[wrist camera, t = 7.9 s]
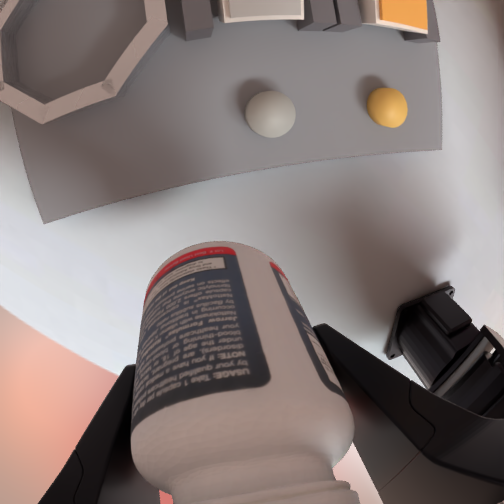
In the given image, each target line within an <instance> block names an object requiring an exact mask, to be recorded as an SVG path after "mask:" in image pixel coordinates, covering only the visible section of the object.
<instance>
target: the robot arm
mask: <svg viewBox="0 0 504 504" xmlns="http://www.w3.org/2000/svg"><path fill="white" fill-rule="evenodd" d="M454 292H455V288H453V287H452V286H449V287H446V288H444V289H441V290H439V291H437V292H434V293H432V294H429V295H427V296H424V297H422V298H419V299H417V300H414V301H411V302H409V303H406V304H403V305H402V306H400V307H399V309H398V311H397V315H396V319H395V324H394V328H393V332H392V336H391V339H390V343H389V347H388V351H387V354H386V356H387V358H388V359H389V360H391V359H394V358H396V357H398V356H401V355H403V356H404V357H405V359H406V360H407V362H408V363H409V364H410V366H411V367H412V369H413V370H414V372H415V373H416V374H417V376H418V377H419V379H420V380H421V382H422V383H423V385H424V386H425V388H426V389H425V388H423V387H422V386H420V385H418V384H417V383H415V382H414V381H412V380H411V381H410V379H409V378H407V377H406V376H404V375H403V374H401V373H400V372H398V371H397V370H395V369H394V368H392V367H391V366H389V365H388V364H386V363H385V362H383V361H381V360H380V359H378V358H377V357H375V356H374V355H372V354H371V353H369V352H368V351H366V350H365V349H363V348H362V347H360V346H359V345H357V344H356V343H354V342H353V341H351V340H350V339H348V338H347V337H345V336H344V335H342V334H341V333H339V332H338V331H336V330H335V329H333V328H332V327H330V326H329V325H327V324H325V323H323V324H319V325H316V326H313V328H312V329H313V331H314V333H315V335H316V337H317V339H318V340H319V342H320V345H321V347H322V348H323V350H324V352H325V355H326V357H327V359H328V361H329V363H330V365H331V367H332V369H333V372H334V374H335V376H336V378H337V380H338V381H339V384H340V386H341V388H342V391H343V393H344V395H345V397H346V399H347V401H348V404H349V407H350V409H351V412H352V415H353V418H354V424H355V432H354V437H353V443H354V445H355V447H356V449H357V451H358V453H359V455H360V457H361V459H362V461H363V463H364V465H365V467H366V469H367V471H368V473H369V475H370V477H371V479H372V481H373V483H374V485H375V487H376V489H377V491H378V494H379V496H380V498H381V500H382V501H383V504H504V339H503V338H502V337H501V336H500V335H499V334H498V333H497V332H495V331H494V330H492V329H491V328H489V327H487V326H486V325H483V327H482V328H481V329H480V331H479V330H478V329H477V328H476V327H475V326H474V325H473V324H472V323H471V322H472V319H471V317H470V316H469V315H468V314H467V313H466V312H465V311H464V310H463V309H462V308H461V307H460V306H459V305H458V304H457V303H456V302H455V301H454V300H453V296H454ZM493 348H495V349H496V350H495V351H494V352H493V354H491V353H490V351H491V350H492V349H493ZM135 370H136V364H132V365H127V366H126V367H125V368H124V369H123V371H122V373H121V374H120V376H119V377H118V379H117V380H116V382H115V384H114V385H113V387H112V388H111V390H110V392H109V393H108V395H107V396H106V398H105V400H104V401H103V403H102V404H101V406H100V407H99V409H98V411H97V412H96V414H95V416H94V417H93V419H92V420H91V422H90V424H89V425H88V427H87V429H86V430H85V432H84V434H83V435H82V437H81V439H80V440H79V442H78V444H77V445H76V448H75V449H76V450H73V452H72V454H71V456H70V457H69V459H68V461H67V462H66V464H65V465H64V467H63V469H62V470H61V472H60V473H59V475H58V476H57V478H56V479H55V480H54V482H53V483H52V485H51V486H50V487H49V489H48V490H47V491H46V493H45V495H44V496H43V497H42V498H41V500H40V501H39V503H38V504H160V497H159V496H160V495H159V489H157V488H156V487H154V486H153V485H151V484H150V483H149V482H147V481H146V480H145V479H144V478H143V476H142V475H141V474H140V473H139V471H138V470H137V468H136V466H135V464H134V461H133V458H132V452H131V420H132V405H133V392H134V380H135Z"/></svg>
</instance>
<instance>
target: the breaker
mask: <svg viewBox="0 0 504 504" xmlns="http://www.w3.org/2000/svg"><path fill="white" fill-rule="evenodd" d="M217 7H218V17H219V21H220V22H223V23H231V22H242V21H255V20H280V19H301V20H304V0H217Z"/></svg>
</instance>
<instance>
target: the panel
mask: <svg viewBox="0 0 504 504" xmlns="http://www.w3.org/2000/svg"><path fill="white" fill-rule="evenodd" d="M7 2H8V0H5V5H6V3H7ZM426 2H427V25H428V34H423V33H416V32H409V31H403V30H398V29H393V28H387V27H381V26H375V25H368V24H362V22H361V16H360V11H359V5H358V0H304V20H301V19H280V20H255V21H242V22H231V23H223V22H220V21H219V17H218V7H217V0H166V5H167V13H168V20H169V27H170V34H169V35H168V37H167V38H166V39H165V40H164V42H163V43H162V44H161V45H160V47H159V48H158V49H157V50H156V52H155V53H154V54H153V56H152V57H151V58H150V60H149V61H148V62H147V64H146V65H145V66H144V68H143V69H142V71H141V72H140V73H139V75H138V76H137V78H136V79H135V81H134V82H133V83H132V85H131V86H130V88H129V89H128V91H127V92H126V94H125V96H124V97H121V98H118V99H115V100H112V101H109V102H105V103H102V104H100V105H97V106H94V107H91V108H88V109H85V110H83V111H80V112H78V113H75V114H72V115H70V116H67V117H65V118H62V119H60V120H58V121H54V122H50V123H46V124H40V123H38V122H37V121H35V120H33V119H31V118H30V117H28V116H26V115H25V114H23V113H21V112H19V111H18V110H16V109H14V108H12V107H11V108H12V114H13V119H14V124H15V129H16V134H17V138H18V142H19V147H20V151H21V155H22V158H23V162H24V166H25V169H26V173H27V176H28V180H29V183H30V186H31V189H32V192H33V195H34V198H35V201H36V204H37V207H38V210H39V213H40V215H41V218H42V221H43V223H44V224H46V223H49V222H52V221H55V220H58V219H62V218H65V217H68V216H71V215H74V214H77V213H81V212H84V211H87V210H90V209H94V208H97V207H101V206H104V205H108V204H111V203H115V202H118V201H122V200H126V199H129V198H133V197H137V196H141V195H145V194H149V193H153V192H157V191H161V190H165V189H169V188H173V187H178V186H182V185H186V184H191V183H196V182H200V181H205V180H210V179H214V178H219V177H224V176H229V175H235V174H240V173H245V172H251V171H256V170H262V169H268V168H274V167H280V166H287V165H293V164H300V163H307V162H314V161H321V160H329V159H337V158H346V157H355V156H364V155H375V154H386V153H398V152H413V151H430V150H442V96H441V80H440V68H439V58H438V50H437V42H440V36H439V30H438V24H437V18H436V13H435V8H434V3H433V0H426ZM146 23H147V20H146V12H145V3H144V0H38V2H37V3H36V5H35V6H34V7H33V9H32V10H31V12H30V13H29V15H28V16H27V18H26V19H25V21H24V23H23V24H22V26H21V27H20V29H19V31H18V32H17V34H16V42H17V57H18V68H19V77H20V82H21V83H23V84H25V85H26V86H28V87H30V88H32V89H34V90H36V91H38V92H39V93H41V94H43V95H45V96H47V97H49V98H50V99H52V100H56V99H58V98H60V97H63V96H65V95H67V94H70V93H72V92H75V91H77V90H80V89H83V88H85V87H88V86H91V85H93V84H96V83H99V82H102V81H104V80H105V79H106V77H107V76H108V74H109V73H110V71H111V70H112V68H113V67H114V65H115V64H116V62H117V61H118V60H119V58H120V57H121V55H122V54H123V53H124V51H125V50H126V48H127V47H128V46H129V44H130V43H131V42H132V40H133V39H134V38H135V36H136V35H137V34H138V33H139V31H140V30H141V29H142V28H143V26H144V25H145V24H146Z"/></svg>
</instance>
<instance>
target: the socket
mask: <svg viewBox="0 0 504 504" xmlns="http://www.w3.org/2000/svg"><path fill="white" fill-rule="evenodd" d="M37 2H38V0H8V2H7V3H6V5H5V6H4V8H3V9H2V11H1V12H0V101H2V102H4V103H5V104H7V105H9V106H11V107H12V108H14V109H16V110H18V111H19V112H21V113H23V114H25V115H26V116H28V117H30V118H31V119H33V120H35V121H37V122H38V123H40V124H46V123H50V122H54V121H58V120H60V119H62V118H65V117H67V116H70V115H72V114H75V113H78V112H80V111H83V110H85V109H88V108H91V107H94V106H97V105H100V104H102V103H105V102H109V101H112V100H115V99H118V98H121V97H124V96H125V94H126V92H127V91H128V89H129V88H130V86H131V85H132V83H133V82H134V81H135V79H136V78H137V76H138V75H139V73H140V72H141V71H142V69H143V68H144V66H145V65H146V64H147V62H148V61H149V60H150V58H151V57H152V56H153V54H154V53H155V52H156V50H157V49H158V48H159V47H160V45H161V44H162V43H163V42H164V40H165V39H166V38H167V37H168V35H169V34H170V27H169V20H168V13H167V5H166V0H144V3H145V12H146V20H147V23H146V24H145V25H144V26H143V28H142V29H141V30H140V31H139V33H138V34H137V35H136V36H135V38H134V39H133V40H132V42H131V43H130V44H129V46H128V47H127V48H126V50H125V51H124V53H123V54H122V55H121V57H120V58H119V60H118V61H117V62H116V64H115V65H114V67H113V68H112V70H111V71H110V73H109V74H108V76H107V77H106V79H105V80H104V81H102V82H99V83H96V84H93V85H91V86H88V87H85V88H83V89H80V90H77V91H75V92H72V93H70V94H67V95H65V96H63V97H60V98H58V99H56V100H52V99H50V98H49V97H47V96H45V95H43V94H41V93H39V92H38V91H36V90H34V89H32V88H30V87H28V86H26V85H25V84H23V83H21V82H20V77H19V68H18V57H17V42H16V34H17V32H18V31H19V29H20V27H21V26H22V24H23V23H24V21H25V19H26V18H27V16H28V15H29V13H30V12H31V10H32V9H33V7H34V6H35V5H36V3H37Z"/></svg>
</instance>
